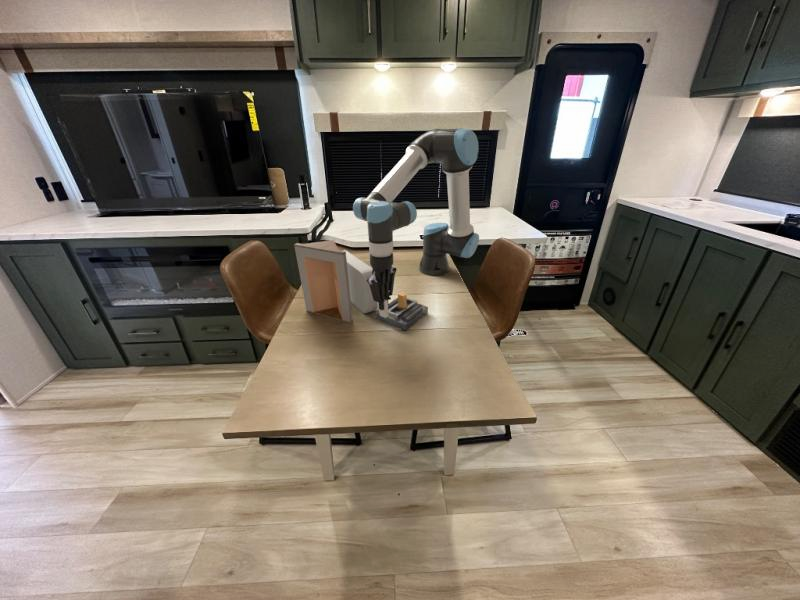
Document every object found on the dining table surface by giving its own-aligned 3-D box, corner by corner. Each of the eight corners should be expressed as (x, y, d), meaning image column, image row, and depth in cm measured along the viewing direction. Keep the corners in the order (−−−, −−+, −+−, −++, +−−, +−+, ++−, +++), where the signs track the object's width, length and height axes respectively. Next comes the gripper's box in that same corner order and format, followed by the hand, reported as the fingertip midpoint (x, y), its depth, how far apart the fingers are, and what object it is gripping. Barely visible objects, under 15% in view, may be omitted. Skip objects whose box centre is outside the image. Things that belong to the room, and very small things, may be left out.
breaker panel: (399, 303, 130) (398, 293, 127) (427, 313, 122) (428, 303, 120) (375, 319, 119) (375, 309, 117) (405, 331, 112) (405, 320, 110)
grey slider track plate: (399, 299, 126) (399, 296, 125) (424, 308, 120) (424, 305, 119) (382, 311, 118) (382, 308, 118) (407, 321, 112) (407, 318, 111)
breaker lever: (401, 306, 121) (401, 291, 118) (407, 308, 120) (407, 293, 117) (397, 309, 119) (396, 295, 116) (403, 311, 118) (402, 297, 115)
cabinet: (306, 311, 125) (294, 244, 111) (321, 300, 132) (311, 236, 119) (350, 323, 117) (342, 252, 103) (363, 311, 124) (358, 244, 111)
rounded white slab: (383, 310, 125) (381, 269, 116) (366, 316, 121) (363, 273, 112) (351, 284, 146) (348, 247, 137) (336, 288, 142) (331, 251, 133)
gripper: (384, 245, 105) (387, 305, 117) (358, 256, 96) (363, 320, 108) (402, 249, 101) (403, 311, 113) (377, 262, 92) (380, 327, 104)
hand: (384, 315), depth 110 cm, fingers closed
